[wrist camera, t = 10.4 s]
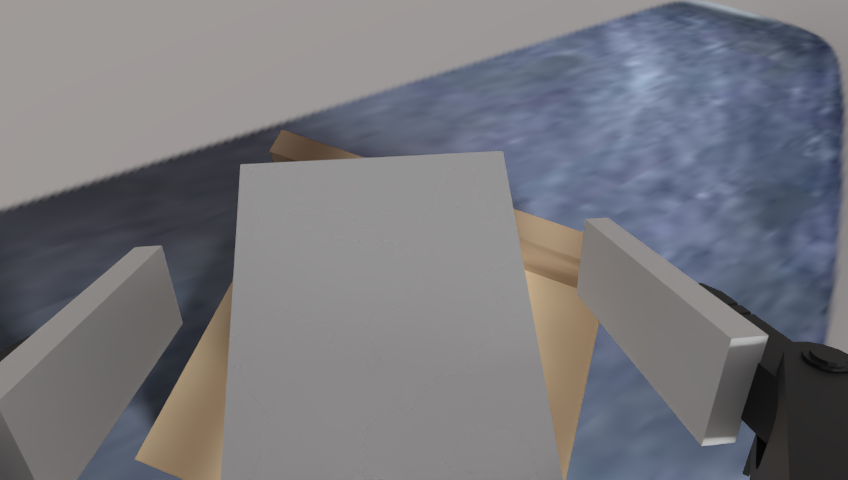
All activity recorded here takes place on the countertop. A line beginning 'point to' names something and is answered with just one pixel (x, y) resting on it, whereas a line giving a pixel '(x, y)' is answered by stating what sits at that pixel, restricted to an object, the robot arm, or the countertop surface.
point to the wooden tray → (553, 317)
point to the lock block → (383, 325)
